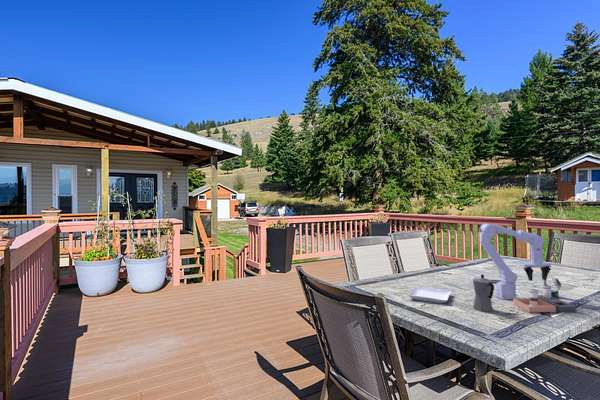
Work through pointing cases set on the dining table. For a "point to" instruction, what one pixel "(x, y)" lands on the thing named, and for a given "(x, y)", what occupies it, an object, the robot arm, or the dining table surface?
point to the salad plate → (430, 294)
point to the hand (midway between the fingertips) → (537, 280)
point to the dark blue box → (557, 283)
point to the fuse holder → (559, 304)
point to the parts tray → (541, 306)
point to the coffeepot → (483, 294)
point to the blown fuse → (533, 297)
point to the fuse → (546, 292)
